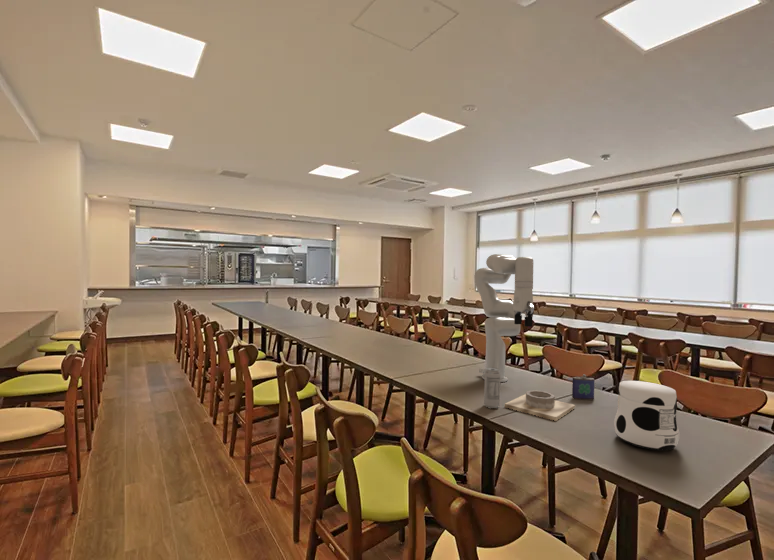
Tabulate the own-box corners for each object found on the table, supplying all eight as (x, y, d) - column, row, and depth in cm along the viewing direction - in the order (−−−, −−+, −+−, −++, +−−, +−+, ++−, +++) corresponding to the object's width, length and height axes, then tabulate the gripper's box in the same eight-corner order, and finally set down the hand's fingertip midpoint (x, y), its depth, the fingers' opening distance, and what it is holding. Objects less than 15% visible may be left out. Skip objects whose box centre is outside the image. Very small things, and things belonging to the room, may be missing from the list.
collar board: (504, 407, 156) (505, 393, 156) (526, 397, 170) (526, 384, 170) (556, 421, 142) (556, 406, 142) (574, 408, 157) (575, 395, 157)
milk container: (618, 428, 137) (620, 376, 137) (680, 442, 126) (682, 386, 126) (608, 443, 124) (610, 387, 124) (676, 461, 113) (679, 399, 113)
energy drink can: (499, 405, 159) (500, 368, 158) (499, 410, 153) (500, 371, 153) (484, 403, 160) (485, 366, 160) (483, 408, 154) (484, 370, 154)
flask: (592, 398, 172) (593, 373, 171) (595, 400, 169) (596, 375, 168) (570, 397, 172) (571, 373, 172) (573, 399, 169) (574, 374, 169)
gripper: (507, 285, 178) (506, 323, 177) (524, 285, 161) (523, 327, 160) (523, 285, 179) (522, 323, 178) (542, 285, 161) (541, 327, 161)
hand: (523, 325), depth 169 cm, fingers open, 9 cm apart
